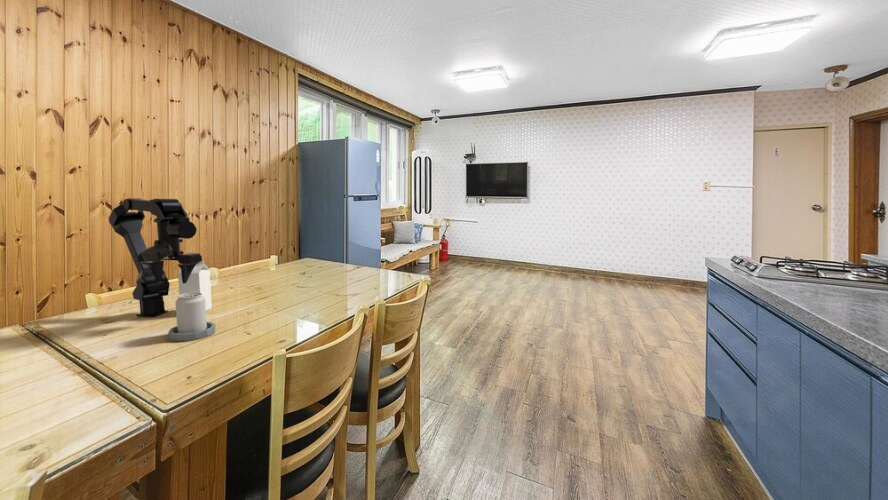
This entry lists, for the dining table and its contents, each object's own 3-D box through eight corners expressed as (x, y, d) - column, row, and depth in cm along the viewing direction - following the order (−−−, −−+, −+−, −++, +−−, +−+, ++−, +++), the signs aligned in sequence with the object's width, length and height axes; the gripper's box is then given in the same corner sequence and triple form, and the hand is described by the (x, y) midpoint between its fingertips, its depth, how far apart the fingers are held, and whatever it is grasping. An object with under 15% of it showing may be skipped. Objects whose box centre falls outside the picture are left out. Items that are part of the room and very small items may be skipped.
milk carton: (192, 308, 139) (189, 258, 136) (212, 308, 139) (209, 259, 137) (180, 314, 132) (177, 262, 129) (201, 314, 132) (198, 262, 130)
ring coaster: (159, 339, 108) (159, 333, 108) (190, 326, 120) (189, 320, 119) (196, 342, 107) (195, 335, 107) (223, 328, 118) (223, 322, 118)
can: (202, 335, 111) (199, 297, 109) (173, 337, 109) (170, 298, 107) (210, 327, 118) (208, 290, 116) (183, 328, 116) (181, 291, 114)
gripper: (119, 238, 115) (123, 286, 117) (174, 240, 113) (178, 289, 115) (151, 234, 126) (154, 279, 128) (201, 236, 124) (204, 282, 126)
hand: (171, 282), depth 124 cm, fingers open, 9 cm apart
